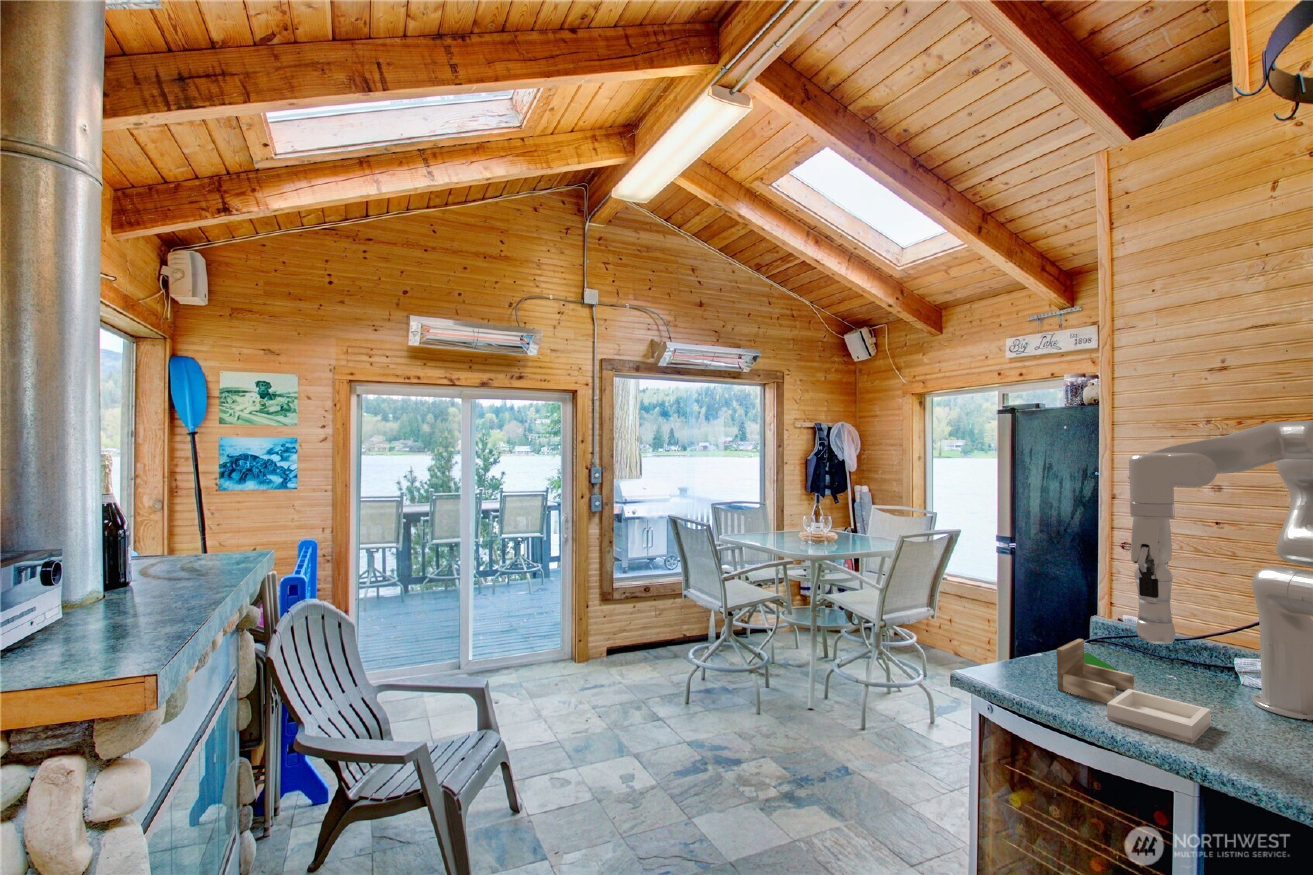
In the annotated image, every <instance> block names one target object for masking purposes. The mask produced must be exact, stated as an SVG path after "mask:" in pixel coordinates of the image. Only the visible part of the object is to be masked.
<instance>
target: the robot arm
mask: <svg viewBox="0 0 1313 875" xmlns="http://www.w3.org/2000/svg"><path fill="white" fill-rule="evenodd" d="M1272 463H1275V468H1276V470H1277V472H1278V474H1279V476H1280V478H1282V481H1283V483H1284V484H1285V486H1286V488H1287V490H1288V493H1289V496H1290V505H1289V509H1288V512H1287V515H1286V518H1285V520H1284V522H1283V525H1282V527H1281V531H1280V532H1279V537H1278V539H1277V541H1276V547H1275V548H1276V554H1277V555H1278V557H1279V558H1280V559H1282V560H1283V561H1285V562H1287V563H1289V564H1292V565H1296V566H1301V567H1306V568H1307V567H1308V568H1313V420H1296V421H1294V420H1293V421H1274V422H1266V423H1264V424H1260V425H1256V426H1253V427H1249V428H1247V429H1246V428H1245V429H1243V430H1240V431H1238V432H1237V431H1236V432H1233V433H1230V434H1226V435H1222V436H1216V437H1210V438H1205V439H1202V440H1196V441H1191V442H1187V443H1182V444H1175V445H1172V446H1167V447H1164V448H1161V449H1157V450H1154V451H1151V452H1148V453H1146V454H1145V453H1144V454H1143V453H1142V454H1134V455H1132V456H1131V457H1130V458H1129V460H1128V474H1129V476H1128V477H1129V478H1128V479H1129V480H1128V481H1129V506H1130V507H1129V509H1130V511H1129V512H1130V514H1129V515H1130V518H1132V527H1131V543H1130V544H1131V545H1130V547H1131V548H1130V551H1131V552H1130V560H1131V562H1132V563H1133V564H1137V567H1138V566H1139V568H1138V570H1139V594H1140V596H1145V597H1152V598H1158V597H1159V591H1158V579H1156V573H1157V566H1158V565H1161V564H1165V565H1166V566H1167V567H1168V568H1169V562H1170V561H1171V560H1172V557H1173V556H1172V555H1173V553H1172V552H1173V549H1172V548H1173V545H1172V543H1173V541H1172V532H1171V531H1172V530H1171V520H1175V519H1176V518H1175V489H1174V488H1175V487H1177V488H1187V489H1190V488H1191V489H1194V488H1195V489H1196V488H1203V487H1205V486H1207V485H1210V484H1211V483H1212V482H1213V481H1214V480H1215V479H1216V477H1217V475H1219V474H1220V475H1221V474H1222V475H1224V474H1234V473H1241V472H1246V471H1249V470H1252V469H1257V468H1258V467H1259V468H1260V467H1262V466H1265V465H1268V464H1272ZM1147 561H1151V562H1153V563H1154V564H1152V563H1147ZM1150 567H1152V571H1151V569H1150ZM1251 588H1252V593H1253V597H1254V600H1255V603H1256V607H1257V612H1258V620H1259V621H1258V622H1259V644H1260V645H1259V647H1260V648H1259V649H1260V652H1259V653H1260V676H1261V678H1260V679H1261V683H1260V684H1261V693H1258V694H1255V695H1253V696H1252V702H1253V704H1254V705H1255V706H1256V707H1258V708H1260V709H1262V710H1265V711H1266V712H1267V711H1268V712H1271V713H1272V714H1273V713H1274V714H1276V715H1280V716H1284V717H1287V718H1293V719H1298V720H1303V719H1307V720H1306V721H1312V720H1313V618H1312V617H1313V571H1310V570H1307V569H1305V570H1304V569H1299V568H1298V569H1297V568H1292V567H1286V566H1268V567H1265V568H1261V569H1259V570H1258V571H1257V572H1256V573H1255V574H1254V575H1253V578H1252V581H1251Z"/></svg>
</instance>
